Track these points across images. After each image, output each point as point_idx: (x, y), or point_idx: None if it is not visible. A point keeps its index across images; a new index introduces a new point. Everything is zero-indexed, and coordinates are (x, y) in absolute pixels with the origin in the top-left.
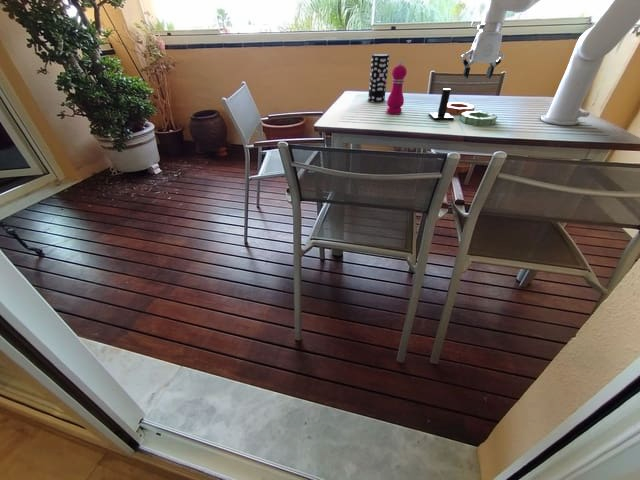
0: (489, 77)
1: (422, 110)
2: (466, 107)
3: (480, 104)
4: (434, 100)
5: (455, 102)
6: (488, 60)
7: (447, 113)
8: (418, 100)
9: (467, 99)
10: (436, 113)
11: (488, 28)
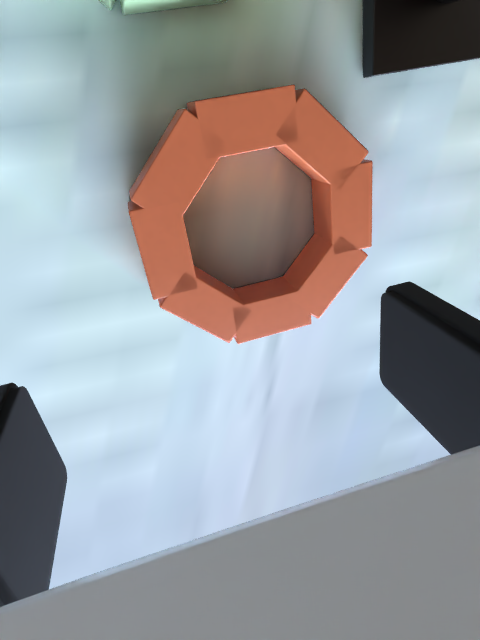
0: (8, 386)
1: (475, 207)
2: (214, 161)
3: None
4: (323, 469)
5: (263, 332)
6: (166, 617)
7: (382, 37)
8: (408, 444)
9: (118, 549)
10: (465, 31)
11: None
